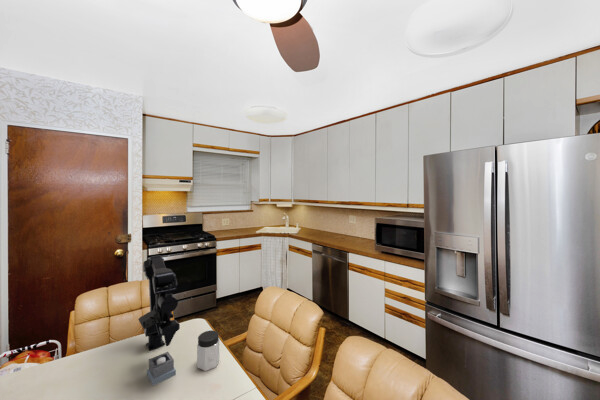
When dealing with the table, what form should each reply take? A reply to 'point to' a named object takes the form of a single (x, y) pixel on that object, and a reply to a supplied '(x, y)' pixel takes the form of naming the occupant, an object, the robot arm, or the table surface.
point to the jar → (208, 350)
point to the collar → (161, 365)
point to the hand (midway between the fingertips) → (164, 340)
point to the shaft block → (162, 377)
